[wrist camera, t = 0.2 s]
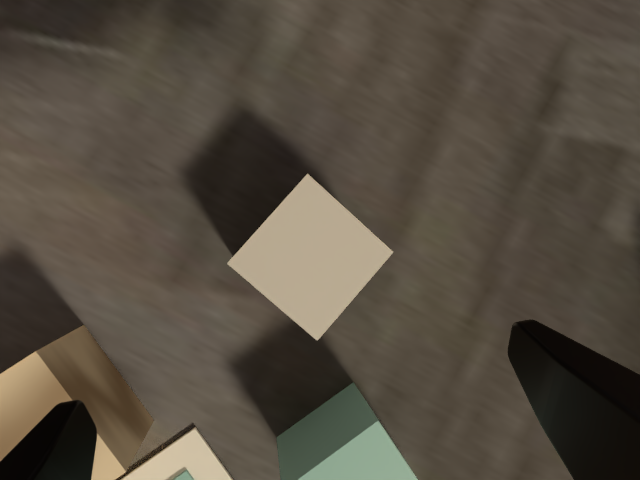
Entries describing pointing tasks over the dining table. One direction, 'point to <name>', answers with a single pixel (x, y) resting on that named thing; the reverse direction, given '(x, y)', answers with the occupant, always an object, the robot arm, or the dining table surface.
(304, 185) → the beige block
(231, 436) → the dining table surface
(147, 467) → the card
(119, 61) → the dining table surface
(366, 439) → the teal block
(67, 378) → the maple block
